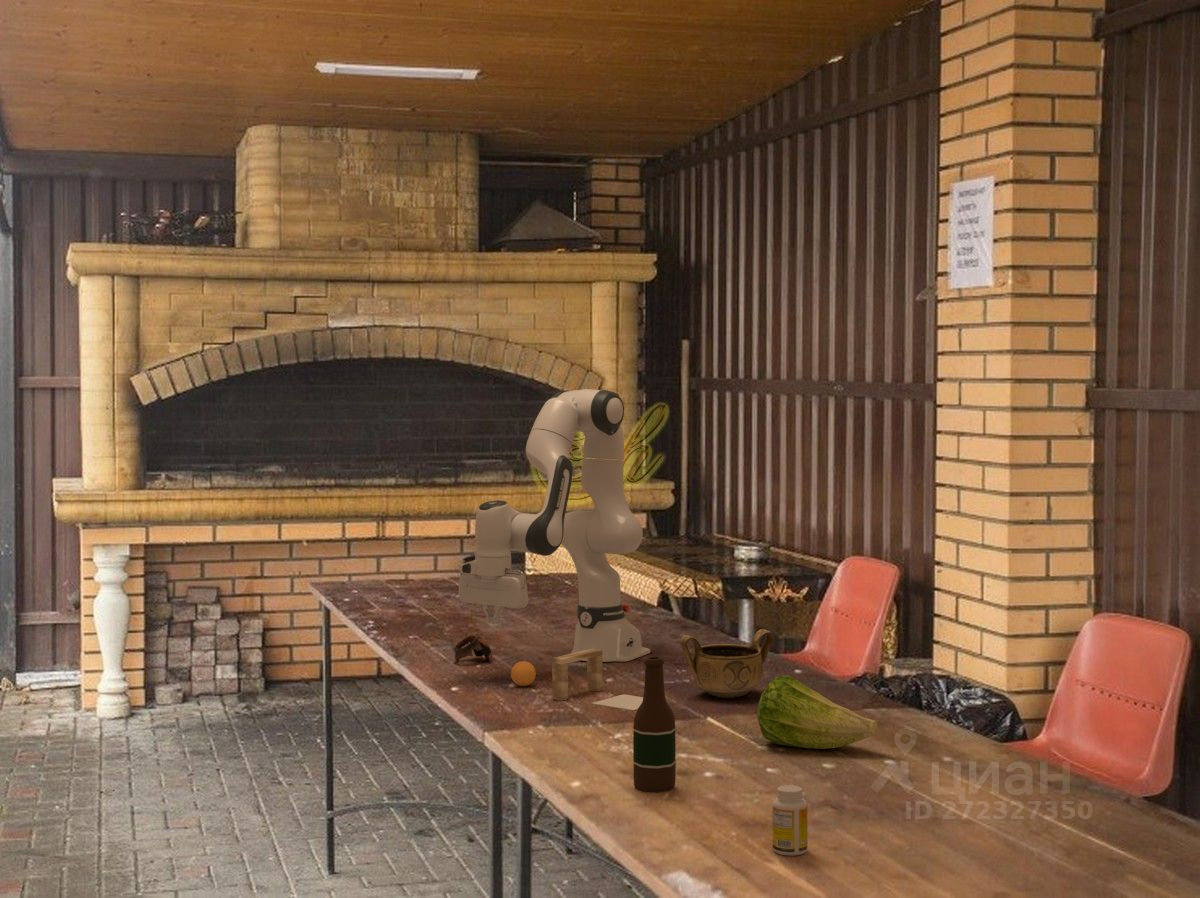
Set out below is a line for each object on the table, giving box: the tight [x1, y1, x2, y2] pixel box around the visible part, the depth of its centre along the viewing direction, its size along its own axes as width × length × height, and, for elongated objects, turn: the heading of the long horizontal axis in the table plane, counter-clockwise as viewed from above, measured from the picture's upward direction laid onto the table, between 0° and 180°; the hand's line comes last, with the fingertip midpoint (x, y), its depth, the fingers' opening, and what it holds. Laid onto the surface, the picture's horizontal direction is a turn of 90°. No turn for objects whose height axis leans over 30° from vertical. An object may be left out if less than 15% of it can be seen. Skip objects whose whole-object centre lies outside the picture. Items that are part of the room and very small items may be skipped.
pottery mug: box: [453, 634, 495, 664], centre depth 415 cm, size 12×10×8 cm
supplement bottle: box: [771, 784, 809, 857], centre depth 251 cm, size 6×6×10 cm
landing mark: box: [591, 694, 643, 712], centre depth 363 cm, size 12×12×1 cm
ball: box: [510, 660, 537, 687], centre depth 383 cm, size 6×6×6 cm
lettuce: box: [756, 674, 878, 750], centre depth 319 cm, size 14×24×15 cm
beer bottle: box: [632, 656, 677, 793], centre depth 290 cm, size 8×8×24 cm
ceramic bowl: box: [679, 628, 774, 699], centre depth 370 cm, size 22×17×15 cm
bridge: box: [551, 649, 604, 702], centre depth 372 cm, size 3×15×10 cm, turn 142°
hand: (493, 623), depth 388 cm, fingers closed
